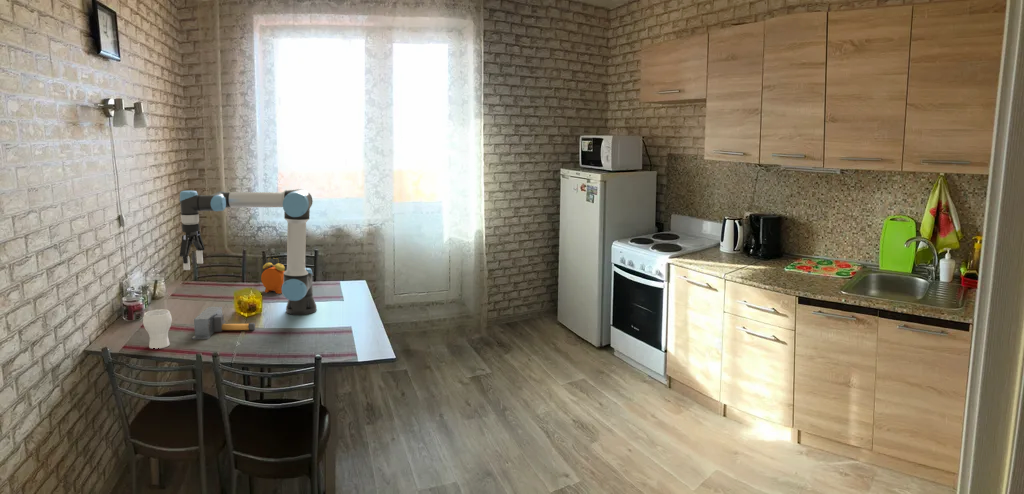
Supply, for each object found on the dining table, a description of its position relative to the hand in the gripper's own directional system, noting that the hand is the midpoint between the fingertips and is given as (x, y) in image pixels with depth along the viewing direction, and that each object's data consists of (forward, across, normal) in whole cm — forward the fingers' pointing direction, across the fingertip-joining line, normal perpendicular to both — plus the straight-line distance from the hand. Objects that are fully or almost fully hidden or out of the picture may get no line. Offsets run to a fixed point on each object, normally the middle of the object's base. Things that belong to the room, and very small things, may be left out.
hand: (193, 266), depth 295 cm
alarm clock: (+27, -54, +20) cm, 64 cm away
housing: (+27, +15, +12) cm, 33 cm away
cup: (+27, +36, 0) cm, 45 cm away
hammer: (+27, +14, +23) cm, 38 cm away
